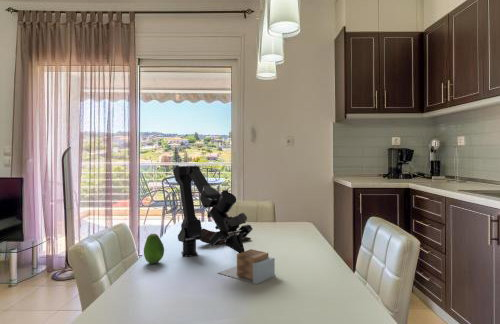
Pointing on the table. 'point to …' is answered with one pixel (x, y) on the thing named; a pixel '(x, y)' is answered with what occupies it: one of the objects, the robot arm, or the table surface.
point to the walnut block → (248, 262)
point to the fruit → (153, 249)
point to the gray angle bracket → (255, 271)
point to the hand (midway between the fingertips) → (243, 253)
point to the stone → (208, 234)
